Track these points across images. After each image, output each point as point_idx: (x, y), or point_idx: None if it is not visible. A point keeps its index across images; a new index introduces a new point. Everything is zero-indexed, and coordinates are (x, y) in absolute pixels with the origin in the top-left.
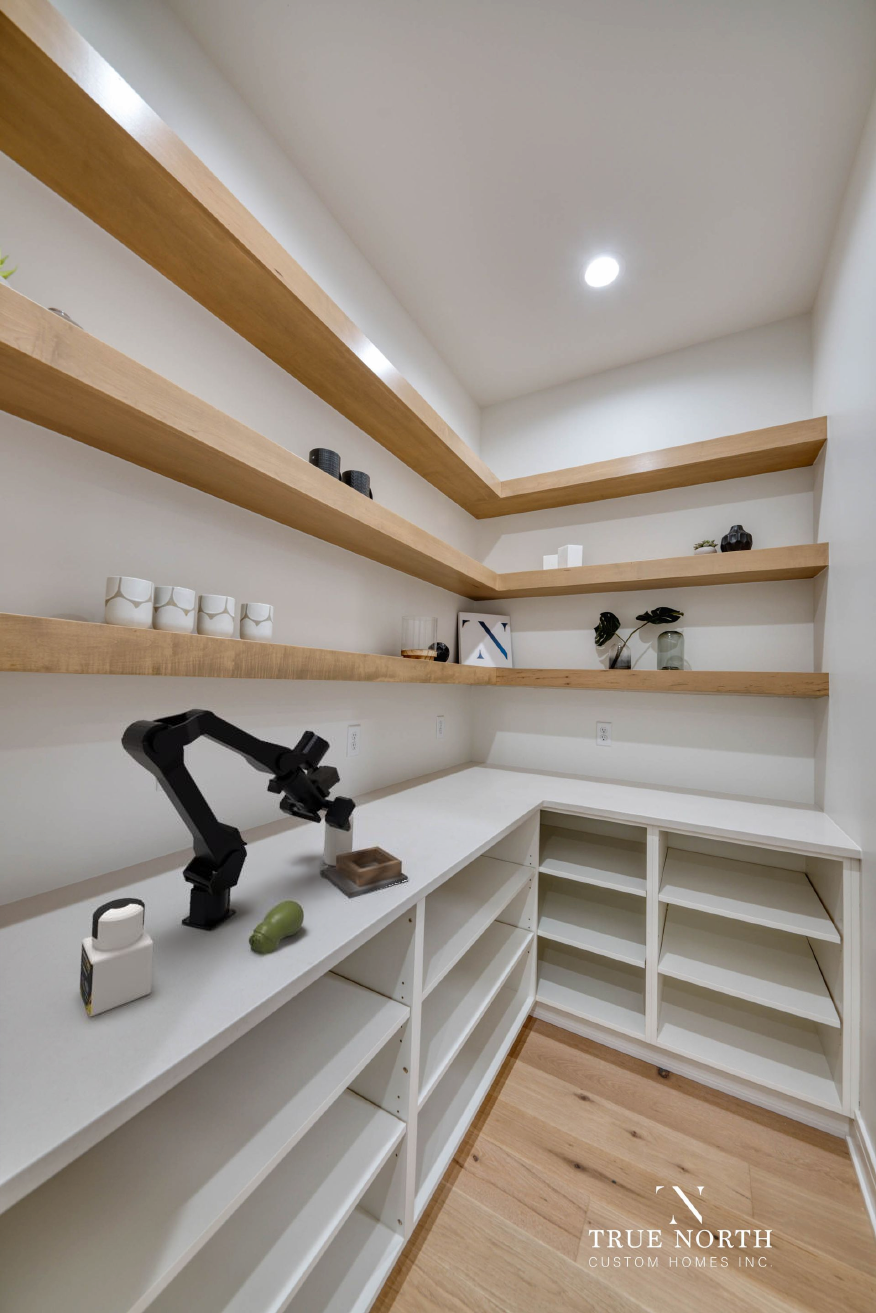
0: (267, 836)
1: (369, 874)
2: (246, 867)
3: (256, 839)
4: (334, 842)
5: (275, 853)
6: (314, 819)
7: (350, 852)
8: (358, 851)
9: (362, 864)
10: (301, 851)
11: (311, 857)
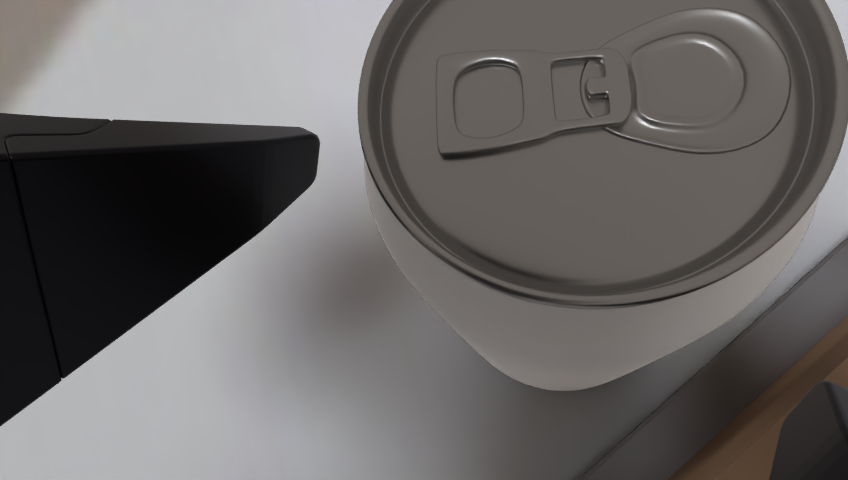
0: (60, 22)
1: None
2: (17, 469)
3: (14, 73)
4: (562, 382)
5: None
6: (235, 226)
7: (757, 453)
8: None
9: None
10: None
11: (360, 253)
